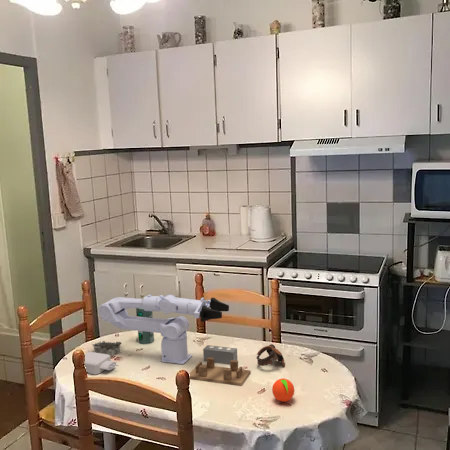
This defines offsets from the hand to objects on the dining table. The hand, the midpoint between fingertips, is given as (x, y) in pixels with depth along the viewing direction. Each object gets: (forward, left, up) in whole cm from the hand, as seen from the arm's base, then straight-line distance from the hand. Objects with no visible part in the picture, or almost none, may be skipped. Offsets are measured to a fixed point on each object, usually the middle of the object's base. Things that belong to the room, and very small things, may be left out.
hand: (225, 311), depth 185 cm
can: (-41, +13, -21) cm, 47 cm away
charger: (-44, -16, -21) cm, 51 cm away
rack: (0, -9, -20) cm, 22 cm away
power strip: (-4, +3, -21) cm, 21 cm away
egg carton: (-51, -1, -21) cm, 55 cm away
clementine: (+26, -20, -21) cm, 39 cm away
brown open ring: (+16, +5, -21) cm, 26 cm away
